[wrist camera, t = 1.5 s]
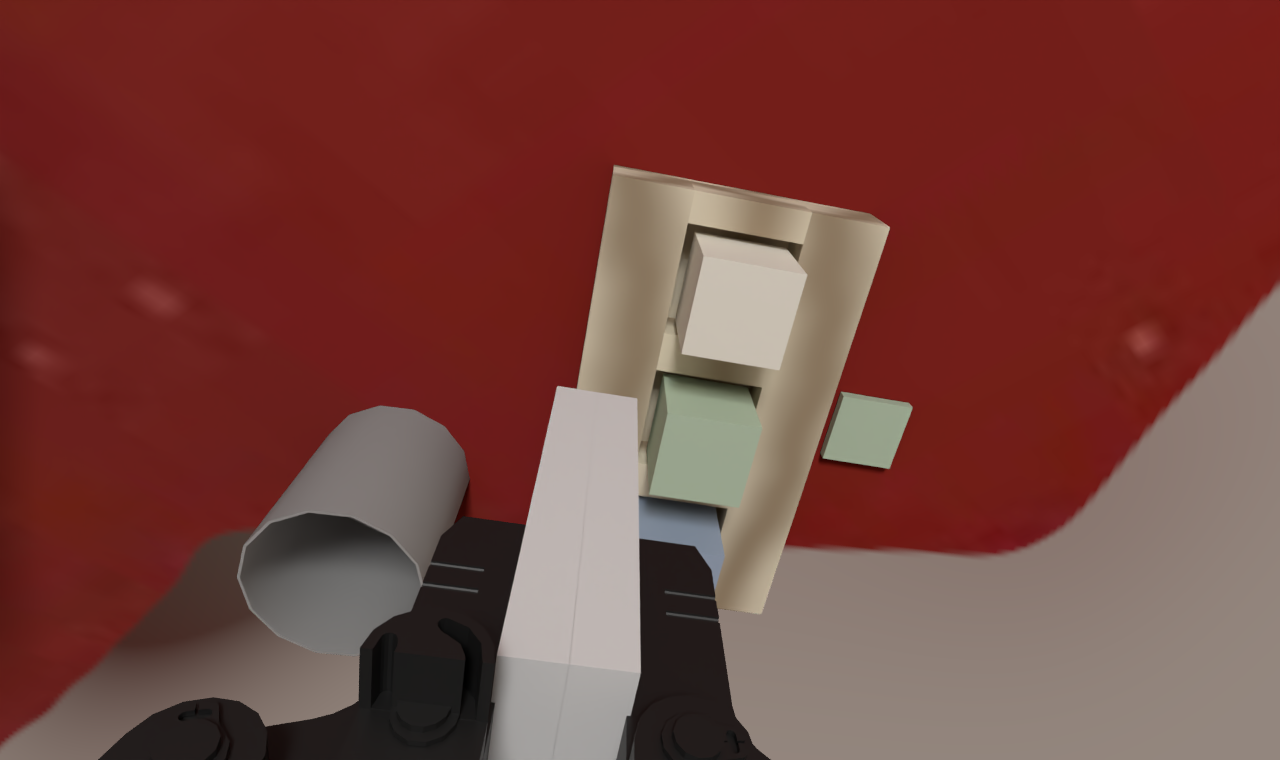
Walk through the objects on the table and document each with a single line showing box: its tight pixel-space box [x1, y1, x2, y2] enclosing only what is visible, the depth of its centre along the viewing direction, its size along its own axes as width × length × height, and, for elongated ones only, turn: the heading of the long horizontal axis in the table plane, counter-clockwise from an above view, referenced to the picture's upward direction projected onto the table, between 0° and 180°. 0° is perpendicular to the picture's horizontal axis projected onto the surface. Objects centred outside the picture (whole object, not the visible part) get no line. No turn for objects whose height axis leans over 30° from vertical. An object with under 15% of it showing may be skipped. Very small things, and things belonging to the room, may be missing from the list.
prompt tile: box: [820, 392, 912, 469], centre depth 41 cm, size 4×4×1 cm
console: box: [577, 165, 890, 614], centre depth 39 cm, size 13×24×3 cm, turn 169°
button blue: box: [639, 496, 725, 589], centre depth 39 cm, size 4×4×4 cm
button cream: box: [675, 231, 807, 370], centre depth 33 cm, size 4×4×4 cm
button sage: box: [647, 373, 762, 508], centre depth 36 cm, size 4×4×4 cm
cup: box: [237, 406, 470, 656], centre depth 37 cm, size 8×8×10 cm
